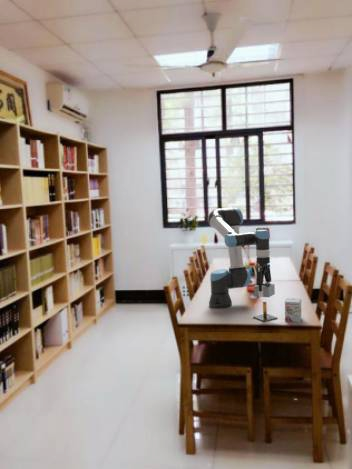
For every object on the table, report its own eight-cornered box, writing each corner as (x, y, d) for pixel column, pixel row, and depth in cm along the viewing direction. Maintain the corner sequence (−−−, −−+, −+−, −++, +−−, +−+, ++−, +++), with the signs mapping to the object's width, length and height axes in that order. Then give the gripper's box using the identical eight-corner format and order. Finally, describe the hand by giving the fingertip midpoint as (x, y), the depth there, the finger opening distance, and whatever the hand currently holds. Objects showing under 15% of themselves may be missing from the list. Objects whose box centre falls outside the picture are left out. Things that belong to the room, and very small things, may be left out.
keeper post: (253, 317, 259) (252, 301, 258) (266, 314, 264) (266, 298, 263) (263, 321, 250) (262, 305, 249) (277, 318, 255) (276, 302, 254)
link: (254, 296, 254) (253, 286, 254) (260, 292, 262) (260, 282, 261) (268, 297, 249) (268, 287, 249) (274, 293, 257) (274, 283, 256)
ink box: (284, 321, 249) (284, 301, 248) (286, 317, 257) (286, 297, 256) (300, 322, 246) (300, 301, 245) (301, 318, 254) (301, 298, 253)
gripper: (261, 259, 242) (263, 299, 244) (276, 254, 260) (277, 291, 262) (249, 259, 246) (250, 298, 249) (264, 253, 264) (265, 290, 266)
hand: (264, 294), depth 255 cm, fingers closed on link, 9 cm apart
